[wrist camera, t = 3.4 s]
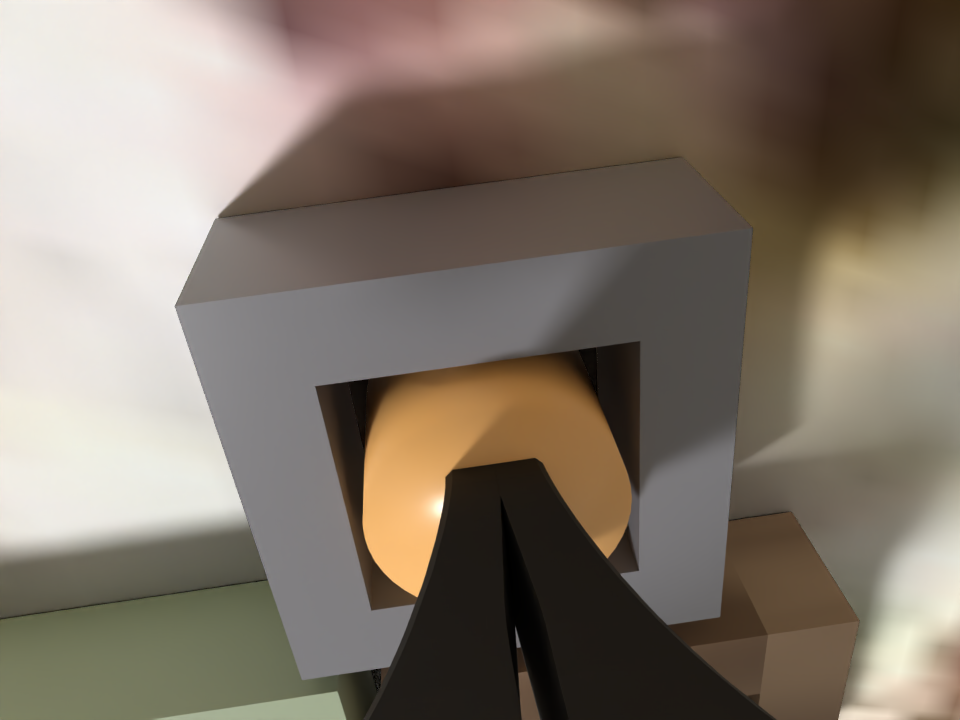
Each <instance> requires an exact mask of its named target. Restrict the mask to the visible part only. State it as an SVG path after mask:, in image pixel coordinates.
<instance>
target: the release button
mask: <svg viewBox="0 0 960 720" xmlns="http://www.w3.org/2000/svg"><path fill="white" fill-rule="evenodd" d="M530 458H536V459H538V460H539V461H541V462H542V463H543V464H544V466H545V468H546V470H547V472H548V474H549V476H550V478H551V480H552V481H553V483H554V485H555V486H556V488H557V490H558V491H559V493H560V494H561V496H562V498H563V499H564V501H565V502H566V504H567V505H568V507H569V508H570V510H571V511H572V512H573V514H574V515H575V517H576V518H577V520H578V521H579V522H580V524H581V525H582V527H583V528H584V529H585V531H586V532H587V533H588V535H589V536H590V537H591V538H592V540H593V541H594V542H595V544H596V545H597V546H598V547H599V549H600V550H601V551H602V552H603V554H604V555H605V556H606V558H607V559H608V557H609V556H610V555H611V553H612V552H613V551H614V550H615V548H616V547H617V545H618V543H619V542H620V540H621V538H622V536H623V534H624V532H625V529H626V527H627V524H628V520H629V516H630V513H631V503H632V494H631V484H630V481H629V477H628V473H627V470H626V468H625V465H624V463H623V460H622V458H621V455H620V453H619V450H618V448H617V445H616V443H615V440H614V438H613V435H612V433H611V430H610V427H609V425H608V422H607V420H606V417H605V415H604V412H603V410H602V407H601V405H600V402H599V400H598V397H597V395H596V392H595V390H594V387H593V385H592V382H591V380H590V377H589V375H588V372H587V370H586V367H585V364H584V362H583V360H582V357H581V355H580V353H579V351H578V350H572V351H565V352H558V353H550V354H543V355H536V356H529V357H522V358H515V359H507V360H500V361H493V362H486V363H479V364H471V365H464V366H457V367H450V368H443V369H436V370H428V371H421V372H414V373H407V374H400V375H392V376H385V377H378V378H371V379H369V381H368V386H367V395H366V427H365V460H364V492H363V530H364V537H365V540H366V543H367V546H368V549H369V551H370V553H371V555H372V557H373V559H374V561H375V562H376V563H377V565H378V566H379V567H380V569H381V570H382V571H383V572H384V573H385V574H386V575H387V576H388V577H389V578H390V579H391V580H392V581H393V582H394V583H395V584H397V585H398V586H400V587H401V588H402V589H404V590H405V591H407V592H409V593H411V594H412V595H414V596H416V597H418V595H419V592H420V590H421V587H422V584H423V581H424V578H425V574H426V571H427V567H428V564H429V561H430V557H431V554H432V550H433V547H434V543H435V540H436V536H437V531H438V527H439V523H440V518H441V513H442V508H443V502H444V494H445V477H446V476H447V475H448V474H449V473H450V472H451V471H452V470H454V469H461V468H468V467H475V466H482V465H489V464H496V463H503V462H510V461H517V460H523V459H530Z"/></svg>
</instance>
